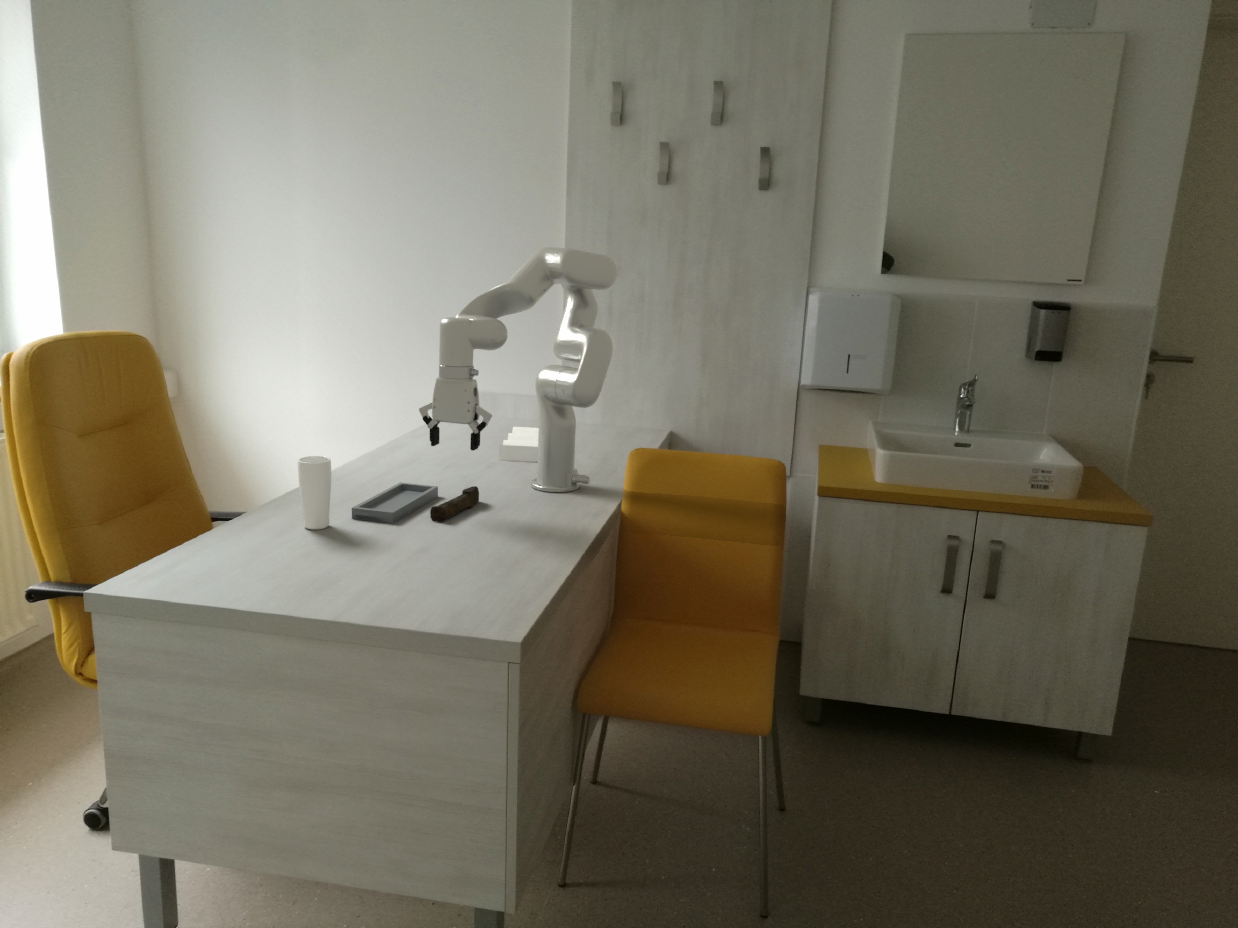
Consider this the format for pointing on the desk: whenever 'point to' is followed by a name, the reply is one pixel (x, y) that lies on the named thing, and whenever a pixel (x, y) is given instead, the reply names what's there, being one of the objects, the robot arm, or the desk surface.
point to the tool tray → (394, 502)
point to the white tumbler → (315, 490)
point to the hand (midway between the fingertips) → (454, 447)
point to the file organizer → (520, 445)
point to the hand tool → (455, 505)
